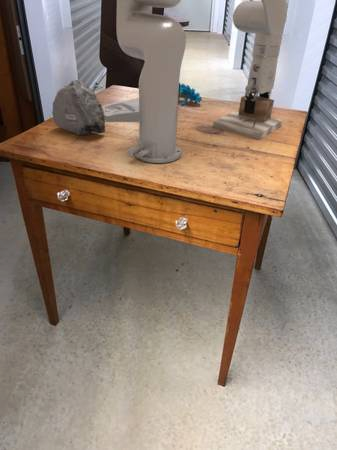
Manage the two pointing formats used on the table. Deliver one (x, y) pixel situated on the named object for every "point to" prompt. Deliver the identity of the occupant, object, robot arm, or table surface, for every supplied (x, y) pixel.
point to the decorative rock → (78, 109)
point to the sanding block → (258, 109)
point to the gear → (189, 94)
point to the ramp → (122, 111)
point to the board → (247, 125)
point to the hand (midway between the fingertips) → (255, 109)
